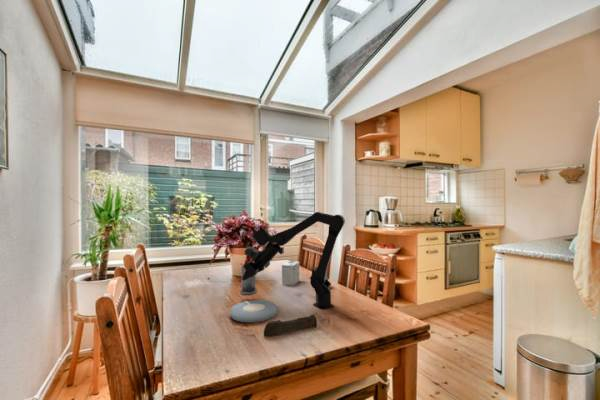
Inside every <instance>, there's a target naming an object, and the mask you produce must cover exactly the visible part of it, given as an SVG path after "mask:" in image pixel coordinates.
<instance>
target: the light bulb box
mask: <svg viewBox="0 0 600 400" xmlns="http://www.w3.org/2000/svg"><path fill="white" fill-rule="evenodd" d="M300 271H301V269H300V261H294V260H292V261H291V260H288V261H287V262H285V263H283V264H282V265H281V285H283V286H293V287H294V285H296V284H297V283H298V282H300V280H301V279H300V273H301V272H300Z"/></svg>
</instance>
